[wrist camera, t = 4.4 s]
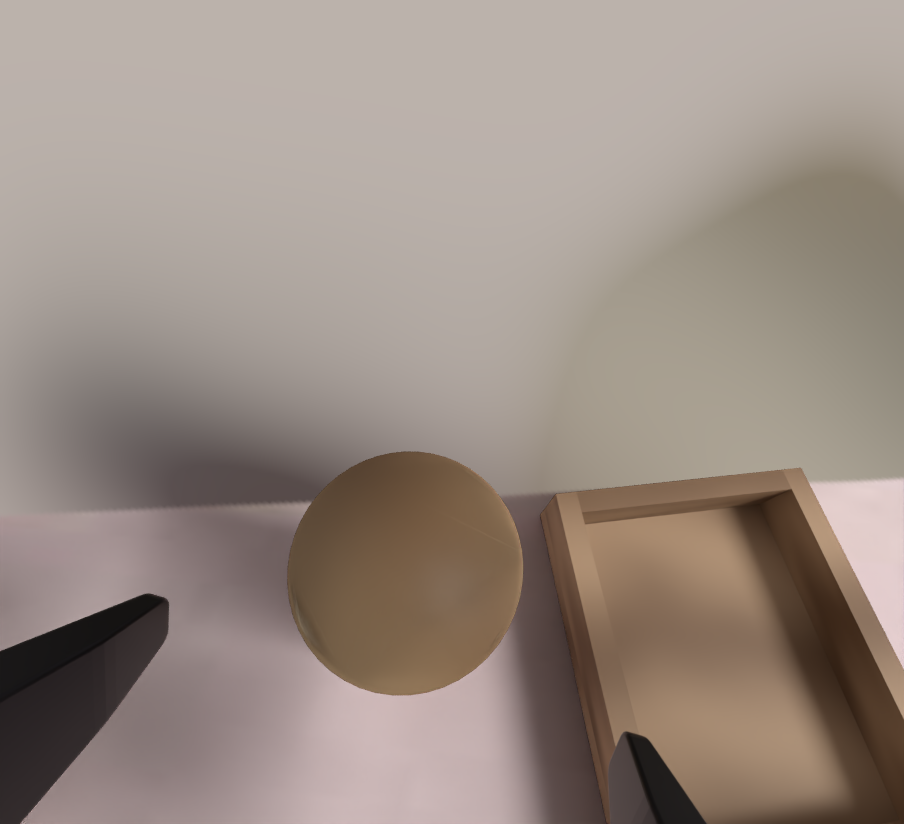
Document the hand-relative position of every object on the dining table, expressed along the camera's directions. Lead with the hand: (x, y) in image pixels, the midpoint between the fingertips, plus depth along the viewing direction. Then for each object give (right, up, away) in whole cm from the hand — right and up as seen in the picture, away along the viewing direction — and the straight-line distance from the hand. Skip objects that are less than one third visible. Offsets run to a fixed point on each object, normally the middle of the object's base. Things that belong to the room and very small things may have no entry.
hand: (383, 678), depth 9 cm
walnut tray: (+11, -4, +9) cm, 14 cm away
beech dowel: (0, -3, +9) cm, 9 cm away
